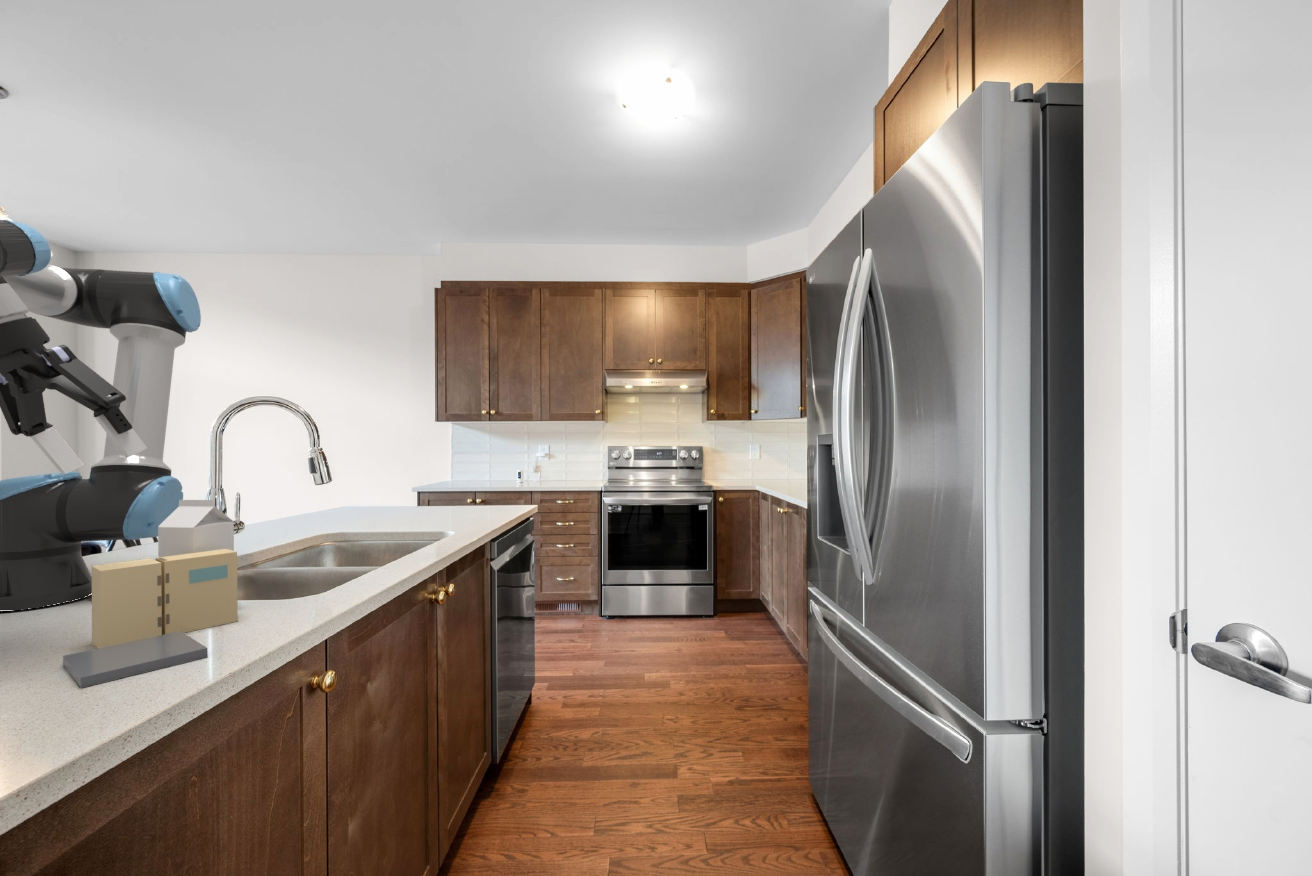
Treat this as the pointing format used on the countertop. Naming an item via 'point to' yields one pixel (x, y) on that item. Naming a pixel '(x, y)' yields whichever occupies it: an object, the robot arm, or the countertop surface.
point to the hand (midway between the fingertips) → (104, 461)
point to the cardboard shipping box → (198, 590)
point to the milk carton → (195, 529)
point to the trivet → (132, 658)
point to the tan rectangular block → (126, 602)
